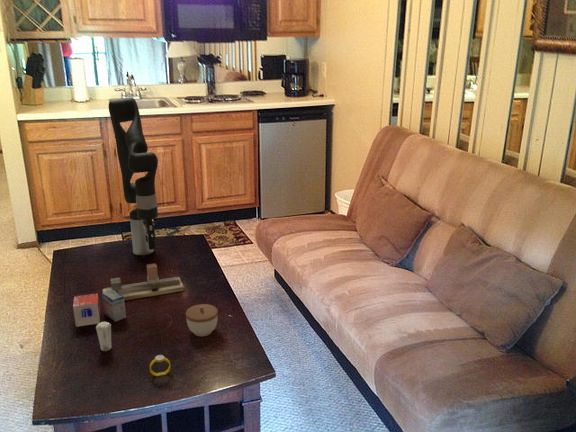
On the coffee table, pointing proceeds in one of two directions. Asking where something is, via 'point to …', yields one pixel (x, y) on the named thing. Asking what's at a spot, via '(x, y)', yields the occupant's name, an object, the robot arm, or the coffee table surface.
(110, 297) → the medicine box
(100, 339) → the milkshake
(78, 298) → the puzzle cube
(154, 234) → the robot arm
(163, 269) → the coffee table surface
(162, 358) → the gold diamond ring
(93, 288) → the coffee table surface
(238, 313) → the coffee table surface
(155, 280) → the block
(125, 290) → the bolt-hole plate
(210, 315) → the lidded jar
